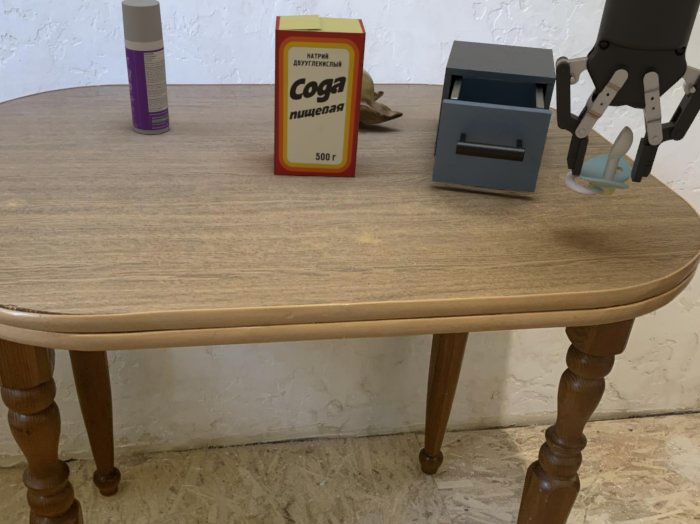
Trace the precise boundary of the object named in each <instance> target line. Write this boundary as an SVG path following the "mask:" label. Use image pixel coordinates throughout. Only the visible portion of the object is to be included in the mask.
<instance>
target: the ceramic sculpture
mask: <svg viewBox="0 0 700 524" xmlns="http://www.w3.org/2000/svg"><path fill="white" fill-rule="evenodd" d="M384 94H385V92H384V91H382V90H378V91H375V83H374V80H373V77H372V76H371V75H370V73H369V72H368V71H367V70H366V69H365V68H363V78H362V91H361V104H360V117H359V122H361V123H363V124H369V125H378V124H382V123H387V122H390V121H393V120H395V119H398V118H401V117H403V116H404V113H403V112H400V111H395V110H392V109H391V108H390V107H389V106H387V105H386V104H384V103H380V102H377V101H378V100H379V99H381V97H383V96H384Z"/></svg>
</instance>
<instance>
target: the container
mask: <svg viewBox="0 0 700 524" xmlns="http://www.w3.org/2000/svg"><path fill="white" fill-rule="evenodd" d="M121 13H122V14H121V15H122V25H123V41H124V51H125V60H126V61H125V62H126V71H127V81H128V90H129V100H130V111H131V121H132V127H133V128H132V129H133V130H134V132H136V133H137V134H142V135H160V134H163V133H166V132H168V131H169V130H170V114H169V100H168V86H167V85H168V84H167V71H166V57H165V44H164V33H163V25H162V24H163V23H162V14H161V4H160V1H158V0H122V1H121Z"/></svg>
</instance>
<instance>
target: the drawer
mask: <svg viewBox="0 0 700 524" xmlns="http://www.w3.org/2000/svg"><path fill="white" fill-rule="evenodd" d="M552 114H553V113H552V110H551V109H549V110H545V109H544V102H543V89H542V84H540V83H530V82H520V81H510V80H500V79H489V78H479V77H469V76H459V75H456V79H455V83H454V87H453V91H452V95H451V100H448V99H444V100H443V104H442V111H441V119H440V126H439V133H438V140H437V148H436V155H435V156H434V163H433V169H432V170H433V171H432V176H431V181H432V182H439V183H447V184H455V185H462V186H463V185H465V186H471V187H472V186H473V187H482V188H489V189H497V190H507V191H515V192H523V193H533V194H534V193H535V191H536V185H537V181H538V176H539V172H540V167H541V164H542V158H543V154H544V150H545V145H546V141H547V137H548V133H549V128H550V124H551V123H550V122H551V119H552Z"/></svg>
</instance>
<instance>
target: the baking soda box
mask: <svg viewBox="0 0 700 524" xmlns="http://www.w3.org/2000/svg"><path fill="white" fill-rule="evenodd" d="M274 27H275V28H274V111H273V113H274V115H273V116H274V121H273V123H274V125H273V127H274V128H273V132H274V133H273V175H274V176H275V175H280V176H282V175H283V176H313V177H342V178H343V177H345V178H347V177H348V178H355V177H356V169H357V155H358V142H359V129H360V121H359V117H360V104H361V91H362V78H363V69H364V61H365V50H366V36H367V32H366V29H365V26H364V23H363V20H362V18H347V17H345V18H344V17H326V16H323V17H322V16H320V14H301V15H300V14H297V15H276V16H275V26H274Z"/></svg>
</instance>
